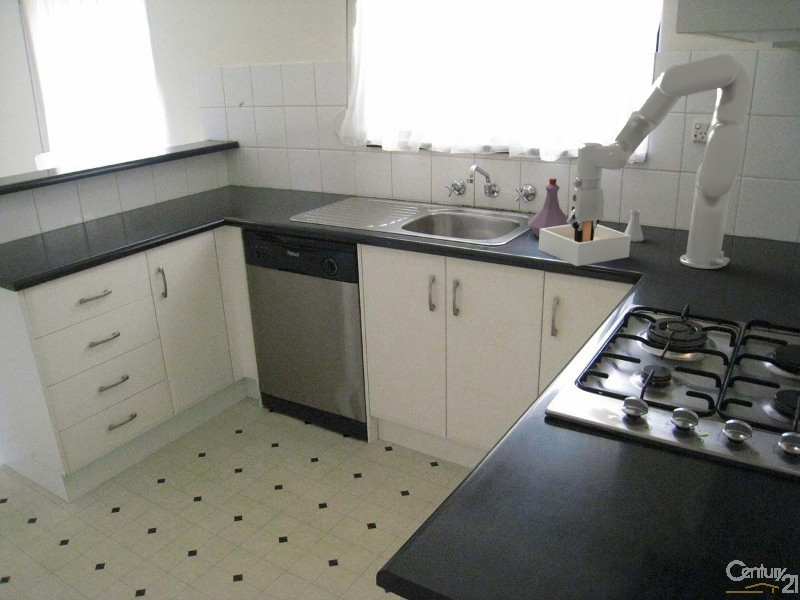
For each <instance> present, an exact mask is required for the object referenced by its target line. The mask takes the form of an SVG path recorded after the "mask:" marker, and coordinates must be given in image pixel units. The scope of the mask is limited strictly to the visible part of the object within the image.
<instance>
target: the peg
mask: <svg viewBox="0 0 800 600" xmlns="http://www.w3.org/2000/svg"><path fill="white" fill-rule="evenodd" d="M591 225H592V221H587V222H583V225H582V229H581V230H582V231H583V237H582V242H587V241H590V237H591Z"/></svg>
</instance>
